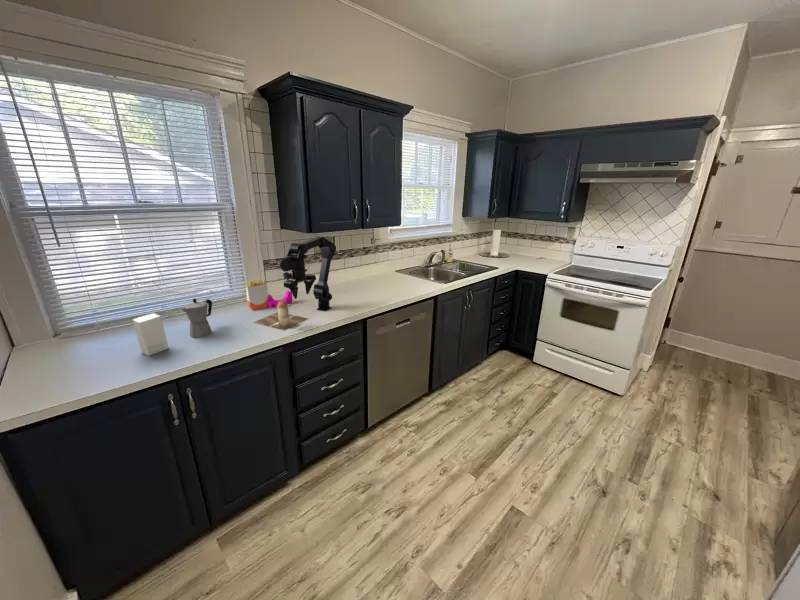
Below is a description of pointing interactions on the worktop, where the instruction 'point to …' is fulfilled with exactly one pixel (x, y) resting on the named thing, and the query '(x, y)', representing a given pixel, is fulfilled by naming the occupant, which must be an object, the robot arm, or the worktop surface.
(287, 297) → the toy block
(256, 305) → the french fries container
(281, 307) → the wooden pin
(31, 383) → the worktop surface
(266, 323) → the walnut board
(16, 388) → the worktop surface
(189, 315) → the coffeepot
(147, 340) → the skincare box
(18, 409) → the worktop surface
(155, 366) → the worktop surface
